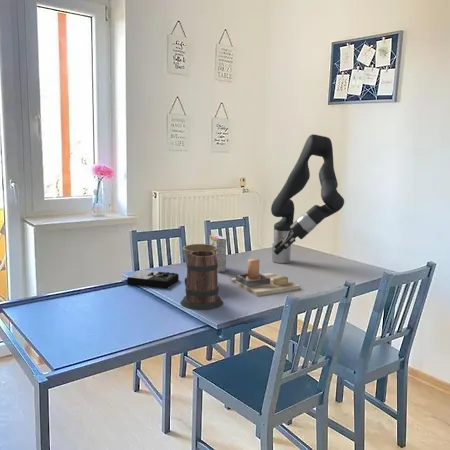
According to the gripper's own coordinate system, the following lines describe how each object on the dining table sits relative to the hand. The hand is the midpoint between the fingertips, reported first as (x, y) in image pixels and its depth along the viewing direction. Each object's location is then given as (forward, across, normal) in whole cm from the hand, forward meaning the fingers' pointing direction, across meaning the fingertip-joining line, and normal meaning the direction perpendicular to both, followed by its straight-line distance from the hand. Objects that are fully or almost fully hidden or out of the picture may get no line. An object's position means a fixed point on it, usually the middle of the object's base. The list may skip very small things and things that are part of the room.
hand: (275, 250), depth 202 cm
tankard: (+32, +23, -9) cm, 41 cm away
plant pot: (+35, 0, -12) cm, 37 cm away
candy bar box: (+32, -23, -8) cm, 40 cm away
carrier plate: (+14, -1, +8) cm, 17 cm away
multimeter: (+50, +3, -26) cm, 56 cm away
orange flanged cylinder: (+17, 0, +4) cm, 17 cm away
